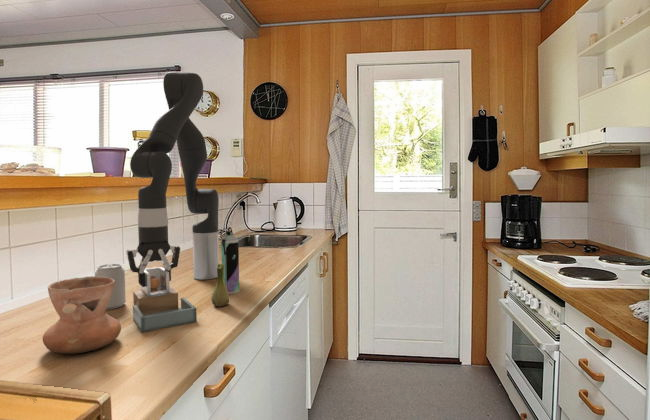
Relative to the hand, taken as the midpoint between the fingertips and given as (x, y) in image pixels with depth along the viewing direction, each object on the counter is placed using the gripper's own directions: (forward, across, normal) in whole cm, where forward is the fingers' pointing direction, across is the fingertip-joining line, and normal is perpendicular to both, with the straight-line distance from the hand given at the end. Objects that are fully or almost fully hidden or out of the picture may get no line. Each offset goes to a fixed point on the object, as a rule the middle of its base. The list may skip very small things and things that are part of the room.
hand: (155, 284), depth 111 cm
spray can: (+7, -24, -6) cm, 26 cm away
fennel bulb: (+7, -16, +7) cm, 19 cm away
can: (+7, +10, -10) cm, 16 cm away
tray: (+7, 0, +10) cm, 13 cm away
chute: (+2, 0, 0) cm, 2 cm away
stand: (+7, 0, 0) cm, 7 cm away
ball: (+1, 0, -2) cm, 2 cm away
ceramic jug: (+7, +18, +18) cm, 26 cm away
